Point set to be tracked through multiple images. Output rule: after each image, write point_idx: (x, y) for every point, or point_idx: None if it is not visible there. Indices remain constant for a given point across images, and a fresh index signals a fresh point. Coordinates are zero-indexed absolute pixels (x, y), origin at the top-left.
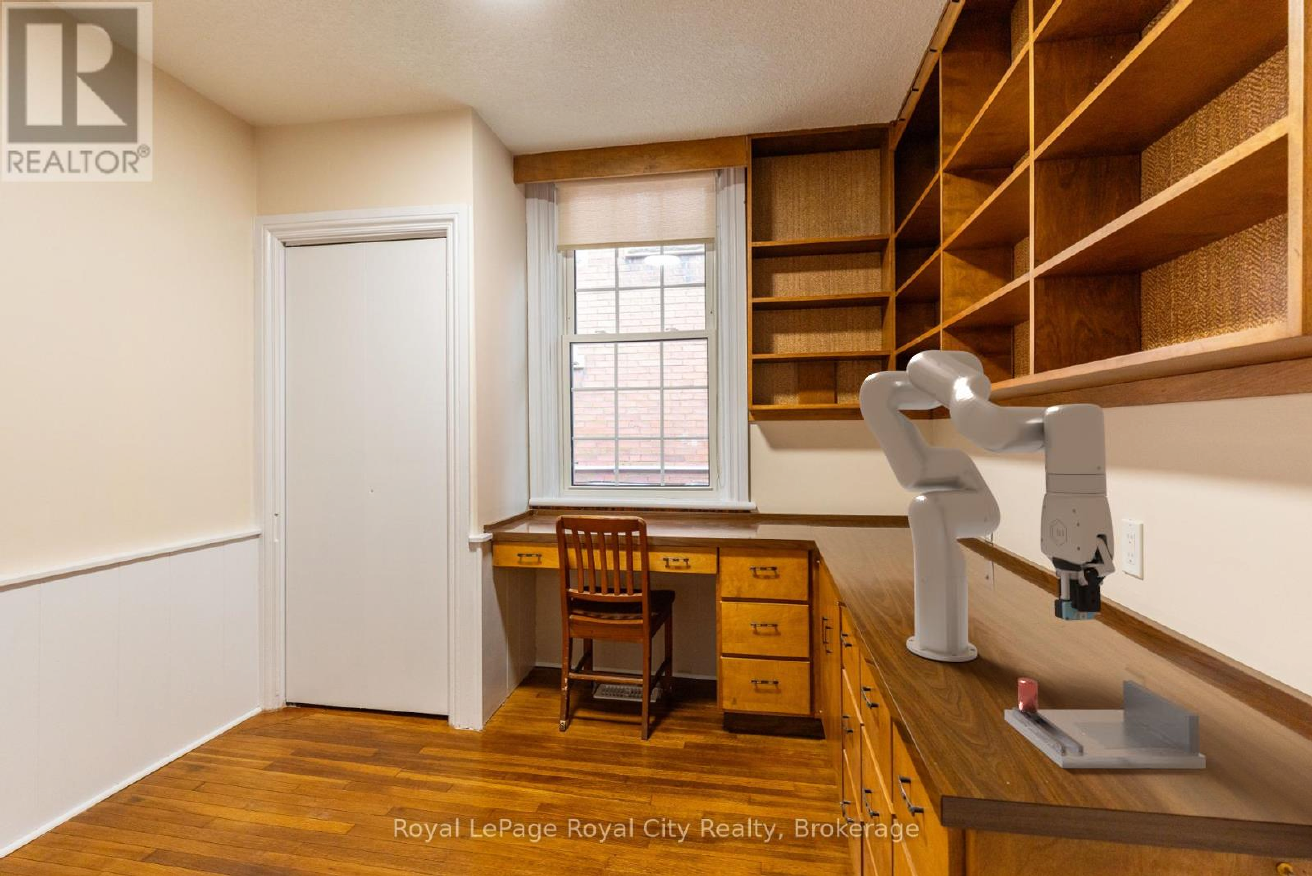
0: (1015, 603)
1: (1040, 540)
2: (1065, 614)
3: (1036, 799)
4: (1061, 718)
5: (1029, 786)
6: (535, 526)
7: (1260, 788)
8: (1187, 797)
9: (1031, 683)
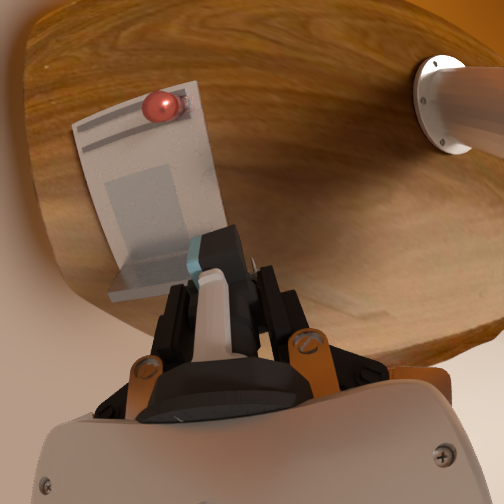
0: None
1: (462, 438)
2: (190, 246)
3: (27, 90)
4: (180, 156)
5: (43, 86)
6: None
7: None
8: (66, 226)
9: (146, 110)
